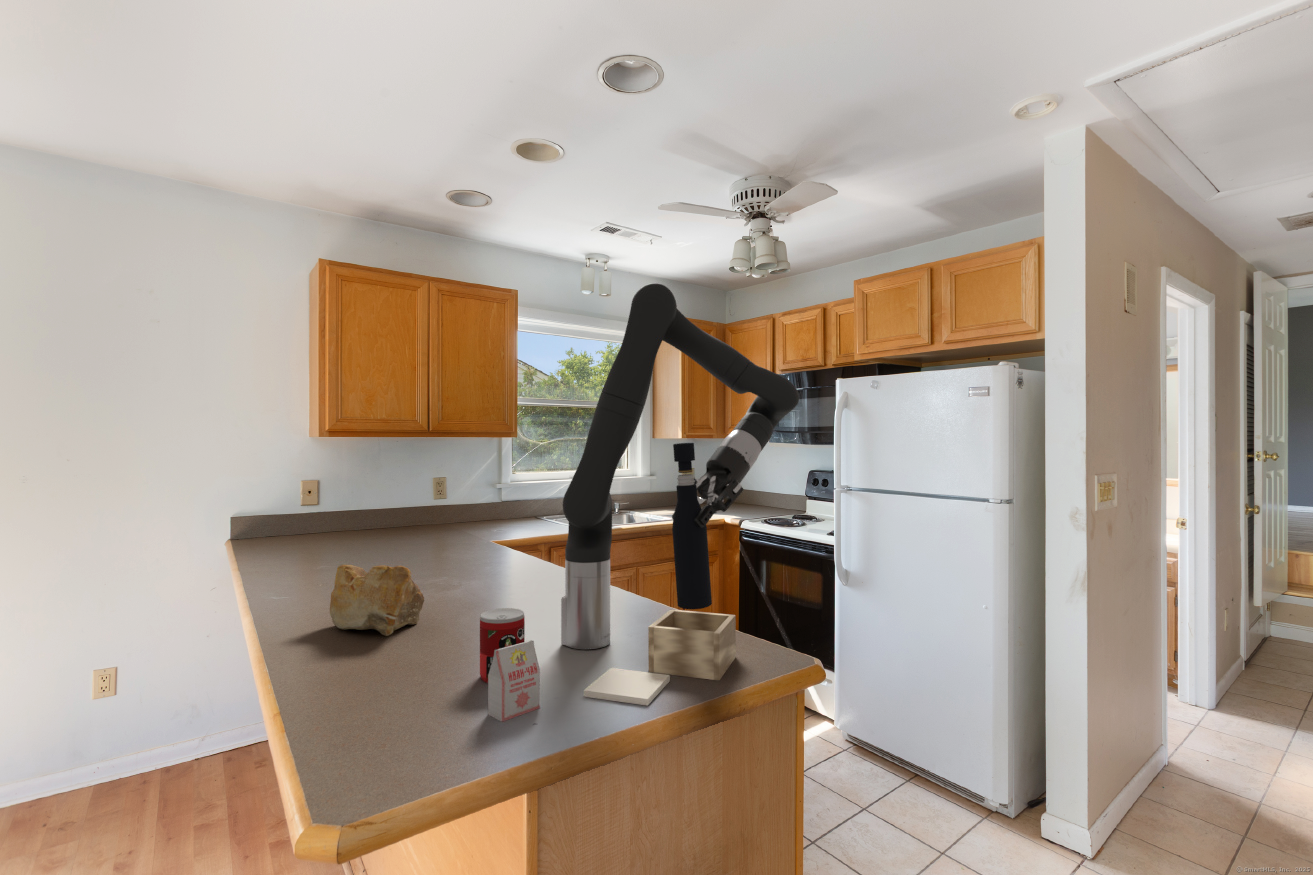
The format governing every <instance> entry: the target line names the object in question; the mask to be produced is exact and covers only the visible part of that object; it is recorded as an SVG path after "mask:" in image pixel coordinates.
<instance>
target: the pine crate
mask: <svg viewBox="0 0 1313 875" xmlns="http://www.w3.org/2000/svg"><path fill="white" fill-rule="evenodd" d="M736 620H737V619H736V615H735V614H729V613H727V614H726V613H715V612H707V611H705V612H704V611H696V610H693V611H692V610H684V609H670V610H668V611H666V613H664V614H663V615H662V616H661V617H659V618H658V619H657V620H655V621H653V623H652V624H650V625H648V626H647V627H648V628H647V629H648V638H647V639H648V640H647V641H648V642H647V643H648V673H657V674H665V675H670V676H671V675H672V676H679V677H685V678H687V677H689V678H695V679H704V680H705V679H707V680H710V681H711V680H712V681H721V679H722V678H723V676H724V674H725V673H726V672H727V671H728V669H729V668H730V667H731V664H732V663H733V662H734V660H735V659H736V657H737V653H736V652H737V651H736V650H737V648H736V646H737V642H736V640H737V638H736V634H737V633H736V632H737V631H736V630H737V629H736V623H737V621H736Z"/></svg>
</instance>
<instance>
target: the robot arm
mask: <svg viewBox="0 0 1313 875" xmlns="http://www.w3.org/2000/svg"><path fill="white" fill-rule="evenodd" d="M677 307H678V305H677V301H676V297H675V296H674V293H673V292H672V291H671V289H670V288H669V287H667V286H666V285H665V284H662V283H659V282H652V283H651V282H650V283H648V284H645V285H644V286H642V287H641V288H639V290H637V291H636V293H635V294H634V296H633V298H632V300H631V304H630V309H629V315H628V320H627V325H626V328H625V331H624V335H623V339H622V342H621V345H620V348H619V350H618V352H617V355H616V357H615V359H614V361H613V364H611V365H612V366H611V367H610V370H609V372H608V374H607V377H606V380H605V381H604V385H603V387H602V389H601V392H600V395H599V397H598V400H597V401H598V402H597V404H596V407H595V409H594V414H593V417H592V421H591V424H590V427H589V429H588V430H589V431H588V433H587V437H586V442H585V447H584V450H583V453H582V456H581V459H580V461H579V463H578V466H577V468H576V470H575V472H574V474H573V477H572V479H571V480H570V483H569V485H568V487H567V489H566V491H565V493H564V496H563V498H562V511H563V514H564V517H565V519H566V520H567V521H568V532H567V540H566V545H565V549H564V550H565V553H564V554H565V555H564V556H565V557H564V558H565V560H564V562H565V563H564V565H565V566H564V567H565V568H564V569H565V570H564V571H565V572H564V575H565V578H564V579H565V581H564V582H565V583H564V584H565V586H564V587H565V588H564V589H565V590H564V592H565V594H564V596H562V597H561V599H560V602H561V603H560V606H561V607H560V612H561V613H560V616H561V618H560V622H561V623H560V624H561V625H560V628H561V630H560V645H562V646H563V645H564V646H566V647H568V648H571V649H575V650H595V649H596V650H597V649H601V648H603V647H607V646H608V645H610V644H611V633H612V632H611V548H612V539H613V499H612V495H611V488H612V483H613V481H614V477H615V473H616V470H617V467H618V466H619V463H620V461H621V459H622V457H623V455H624V453H625V451H626V450H627V448H628V446H629V444H630V443H631V440H632V438H633V436H634V434H635V432H636V431H637V427H638V426H639V423H640V420H641V417H642V414H643V411H644V407H645V405H646V402H647V398H648V394H649V391H650V387H651V381H652V376H653V371H654V365H655V362H656V358H657V354H658V352H659V349H660V346H661V344H662V343H663V342H665V343H667V344H669V345H670V346H672V347H673V348H675V349H676V350H678V351H680V352H681V353H683V354H684V355H685V356H687V357H688V358H690V359H691V360H693V361H694V362H695V363H696V364H697V365H699V366H700V367H702V368H703V369H704V370H705V371H707V373H709V374H711V375H712V376H713V377H715V379H717V380H719V382H720V383H722V384H723V385H725V386H726V387H728V389H730V390H731V391H734V392H735V393H736V394H738V395H743V394H747V393H751V394H753V395H755V396H756V397H755V399H754V400H753V401H752V403H751V404H750V405H749V407H748V409H747V410H746V413H745V415H744V416H743V417H742V418H741V419H740V420H739V421H738V423H737V424H736V426H735V427H734V428H733V429H732V431H731V432H730V433H729V434H728V435H726V437H725V438H724V439H723V441H721V443H720V444H719V446H717V448H716V449H715V451H714V452H713V454H712V455H711V456H710V458H709V459H708V460H707V461H706V465H705V467H706V468H705V469H706V470H705V471H706V472H705V473H704V474H703V475H702V476H701V477H699V478H696V477H695V478H694V480H695V482H694V484H696V485H697V494H699V496H700V497H699V496H698V495H697V499H698V501H699V504H700V505H701V504H703V503H704V502H705V501H706V505H705V504H704V505H703V506H702V507H701V511H700V512H699V514H698V515H697V516H696V518H695V519H694V522H695V523H696V524H697V526H698V527H700V528H703V527H704V526H705V525H706V526H707V524H708V523H709V521H710V520H711V519H712V517H713V515H714V514H717V513H718V512H720V511H721V512H722V513H723V512H726V511H727V510H728V509H729V508H730V507H731V505H733V503H734V502H735V501H736V499H737V498H738V497H739V496H740V495H741V493H743V491H744V487H743V486H742V485H741V483H742V481H743V480H744V479H745V477H746V475H747V474H748V473H749V471H751V468H752V467H753V466H754V465H755V463H756V462H757V460H758V457H759V456H760V454H761V453H762V451H763V450H764V448H765V447H766V445H767V444H768V442H769V441H770V440H771V438H772V436H773V434H774V429H775V428H776V426H777V425H778V424H779V422H780V421H781V420H782V419H783V418H784V417H785V416H787V415H788V414H789V413H790V412H792V411H793V410H794V409H795V408H796V407H797V406H798V404H799V402H800V401H799V400H800V394H799V391H798V389H797V387H796V386H795V385H794V383H792V381H790V380H789V379H787V378H786V377H784V376H783V375H780V374H778V373H776V372H774V371H772V370H769V369H768V368H767V369H766V368H764V367H762V366H759V365H757V364H755V363H754V362H753V361H752V360H750V359H749V358H748V357H746V356H745V355H743V354H742V353H741V352H739V351H738V350H736V349H735V348H734V347H732V346H731V345H730V344H728V343H726V342H724V341H723V340H720V339H719V338H717V337H715V336H714V335H712V334H709V333H708V332H706V331H705V330H702V329H701V328H700V327H699V326H697V325H696V324H694V323H693V322H692V321H691V320H689V319H688V318H687V317H686V316H685V315H684V314H683V313H682V311H680V310H679V309H678V308H677ZM725 498H726V501H725V502H724V500H725ZM673 517H674V512H673V513H672V515H671V518H672V520H673Z"/></svg>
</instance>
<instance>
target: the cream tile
mask: <svg viewBox="0 0 1313 875" xmlns="http://www.w3.org/2000/svg"><path fill="white" fill-rule="evenodd" d="M670 678H671V675H670V674H662V673H654V672H649V671H648V672H647V671H640V670H631V669H622V668H617V667H610V668H609V669H608V670H607V671H605V672H604V673H603V674H601V675H600V676H599V677H598V678H596V679H595V680H594V681H593V682H592V683H591V684H589V685H588V686H587V687H586V688H585V689H583V697H584V698H592V699H598V700H606V701H614V702H621V703H628V704H633V705H642V706H647V707H648V706H649V705H650V704H651V702H652V701H653V700H654V699H655V698H656V697H657V696H658V695H659V693H660V692H661V691H662V690H663V689H664V688H665V687H666V686H667V685H668V684H669V682H670V681H671V679H670Z"/></svg>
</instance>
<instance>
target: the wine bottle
mask: <svg viewBox="0 0 1313 875" xmlns="http://www.w3.org/2000/svg"><path fill="white" fill-rule="evenodd" d="M672 446H673V459H674V460H673V461H674V462H675V463H676V462H677V465H678V473H680V474H678V475H677V477H676V480H677V485H676V486H675V487H676V499H677V500H676V505H675V508H674V512H673V513H674V517H673V519H672V528H671V530H672V545H673V556H674V559H673V560H674V569H675V572H674V573H675V585H676V586H675V587H676V589H675V590H676V600H677V607H679V608H680V609H682V610H702V609H706V608H709V607H711V605H712V604H713V600H712V586H711V585H712V584H711V571H710V559H709V558H710V557H709V555H710V554H709V543H708V527H707V524H706V525H705V526H704V527H703V528H700V527H698V526H697V524H696V523H695V522H694V519H695V518H696V516H697V515H698V514H699V512H700V511H701V509H702V506H701V504H699V501H698V499H697V496H698V491H697V485H696V484H694V482H695V480H694V478H695V479H696V477H695V475H694V474H693V473H692V472H693V465H692V462H693V461H696V455H695V454H696V452H695V443H694V442H681V443H680V442H678V443H673V445H672Z"/></svg>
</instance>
